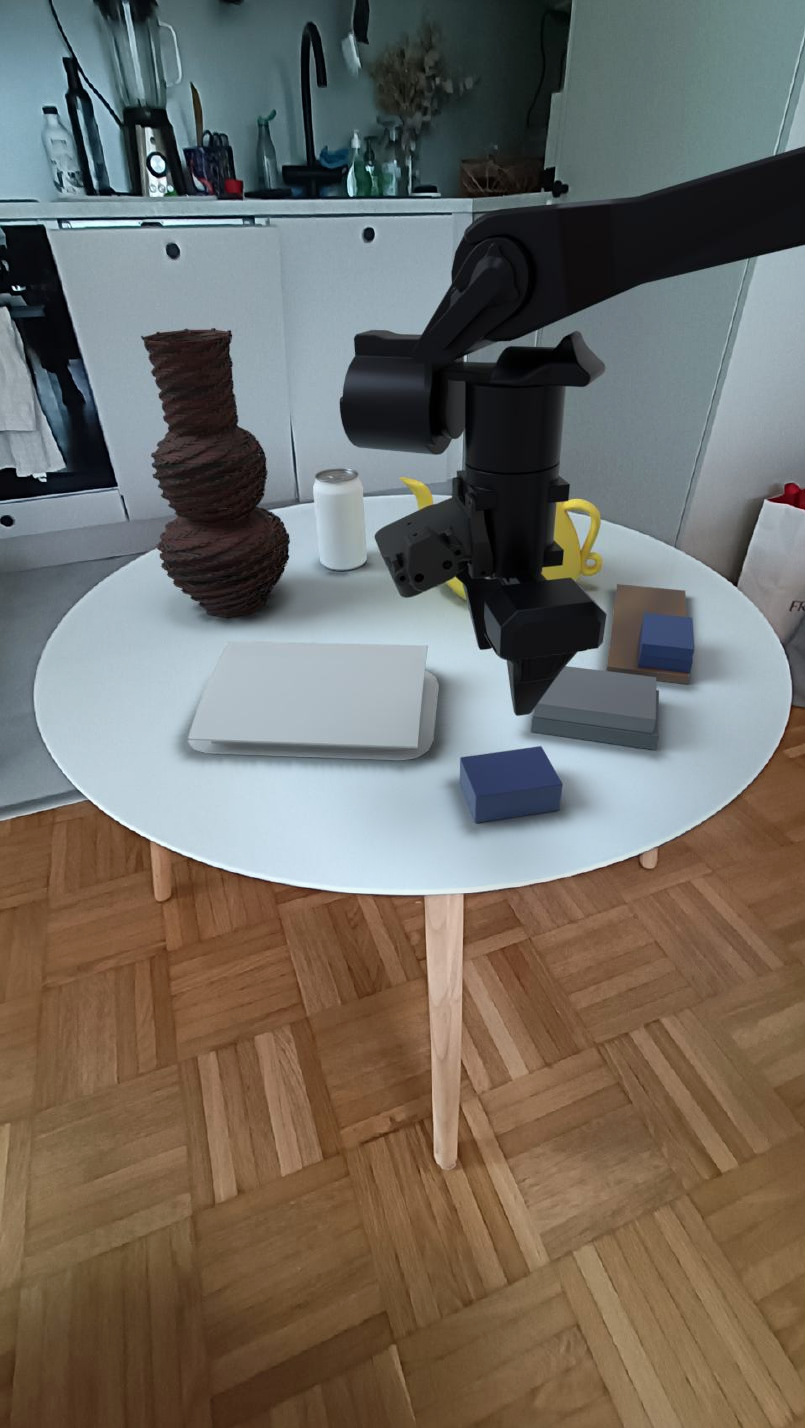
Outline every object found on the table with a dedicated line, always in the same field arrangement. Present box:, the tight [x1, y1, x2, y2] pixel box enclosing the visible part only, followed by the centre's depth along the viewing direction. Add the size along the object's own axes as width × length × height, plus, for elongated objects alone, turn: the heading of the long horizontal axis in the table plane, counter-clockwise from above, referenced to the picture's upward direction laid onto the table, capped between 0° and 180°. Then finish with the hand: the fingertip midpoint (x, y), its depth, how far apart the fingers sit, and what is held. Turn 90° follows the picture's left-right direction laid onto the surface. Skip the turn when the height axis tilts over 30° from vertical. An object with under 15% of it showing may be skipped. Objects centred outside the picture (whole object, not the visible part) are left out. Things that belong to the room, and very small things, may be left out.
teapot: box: [399, 476, 604, 602], centre depth 88 cm, size 25×18×14 cm
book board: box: [605, 583, 691, 685], centre depth 80 cm, size 8×20×1 cm, turn 163°
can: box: [312, 467, 368, 572], centre depth 96 cm, size 6×6×12 cm
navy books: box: [638, 613, 695, 674], centre depth 74 cm, size 7×5×3 cm
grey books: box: [530, 665, 660, 751], centre depth 67 cm, size 11×8×3 cm
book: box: [187, 640, 440, 761], centre depth 69 cm, size 15×23×4 cm, turn 85°
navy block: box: [459, 745, 563, 824], centre depth 58 cm, size 7×5×3 cm
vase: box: [140, 327, 291, 619], centre depth 81 cm, size 15×15×30 cm
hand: (502, 678), depth 52 cm, fingers open, 9 cm apart
